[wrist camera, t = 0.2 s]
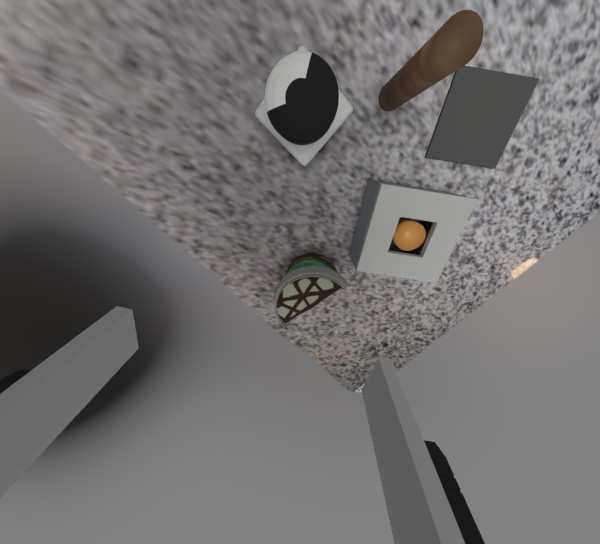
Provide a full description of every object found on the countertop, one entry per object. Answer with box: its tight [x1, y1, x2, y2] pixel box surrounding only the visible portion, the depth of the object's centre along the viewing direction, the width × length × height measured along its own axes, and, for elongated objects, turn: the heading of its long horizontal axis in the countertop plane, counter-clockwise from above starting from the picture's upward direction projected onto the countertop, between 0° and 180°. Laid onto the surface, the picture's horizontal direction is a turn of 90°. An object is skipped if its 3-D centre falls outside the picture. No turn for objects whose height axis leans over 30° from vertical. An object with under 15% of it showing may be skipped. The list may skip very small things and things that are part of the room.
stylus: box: [379, 10, 483, 111], centre depth 22 cm, size 3×3×15 cm
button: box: [392, 217, 426, 251], centre depth 32 cm, size 4×4×3 cm
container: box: [255, 45, 353, 166], centre depth 25 cm, size 8×8×13 cm
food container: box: [274, 254, 347, 328], centre depth 36 cm, size 12×6×10 cm, turn 129°
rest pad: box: [425, 66, 539, 169], centre depth 29 cm, size 10×10×1 cm
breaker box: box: [349, 180, 477, 283], centre depth 33 cm, size 12×12×7 cm
